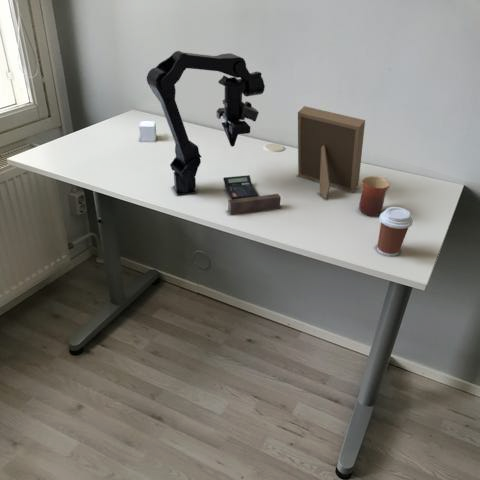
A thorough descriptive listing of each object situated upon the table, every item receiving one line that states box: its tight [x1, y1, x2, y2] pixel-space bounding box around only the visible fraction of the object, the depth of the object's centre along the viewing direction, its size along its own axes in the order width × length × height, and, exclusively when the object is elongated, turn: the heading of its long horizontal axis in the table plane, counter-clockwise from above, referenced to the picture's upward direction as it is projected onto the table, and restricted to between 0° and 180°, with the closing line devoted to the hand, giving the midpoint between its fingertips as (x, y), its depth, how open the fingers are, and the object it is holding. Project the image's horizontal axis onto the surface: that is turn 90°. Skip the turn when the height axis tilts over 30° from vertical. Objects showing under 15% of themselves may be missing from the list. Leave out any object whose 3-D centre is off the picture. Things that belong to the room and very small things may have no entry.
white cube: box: [138, 120, 158, 142], centre depth 202 cm, size 6×6×6 cm
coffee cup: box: [376, 206, 414, 257], centre depth 139 cm, size 9×9×12 cm
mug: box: [358, 175, 391, 217], centre depth 158 cm, size 12×9×10 cm
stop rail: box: [227, 193, 282, 216], centre depth 157 cm, size 17×2×4 cm, turn 109°
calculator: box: [222, 174, 260, 200], centre depth 168 cm, size 9×12×3 cm
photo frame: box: [297, 105, 366, 199], centre depth 165 cm, size 15×22×25 cm
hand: (232, 146), depth 168 cm, fingers closed
